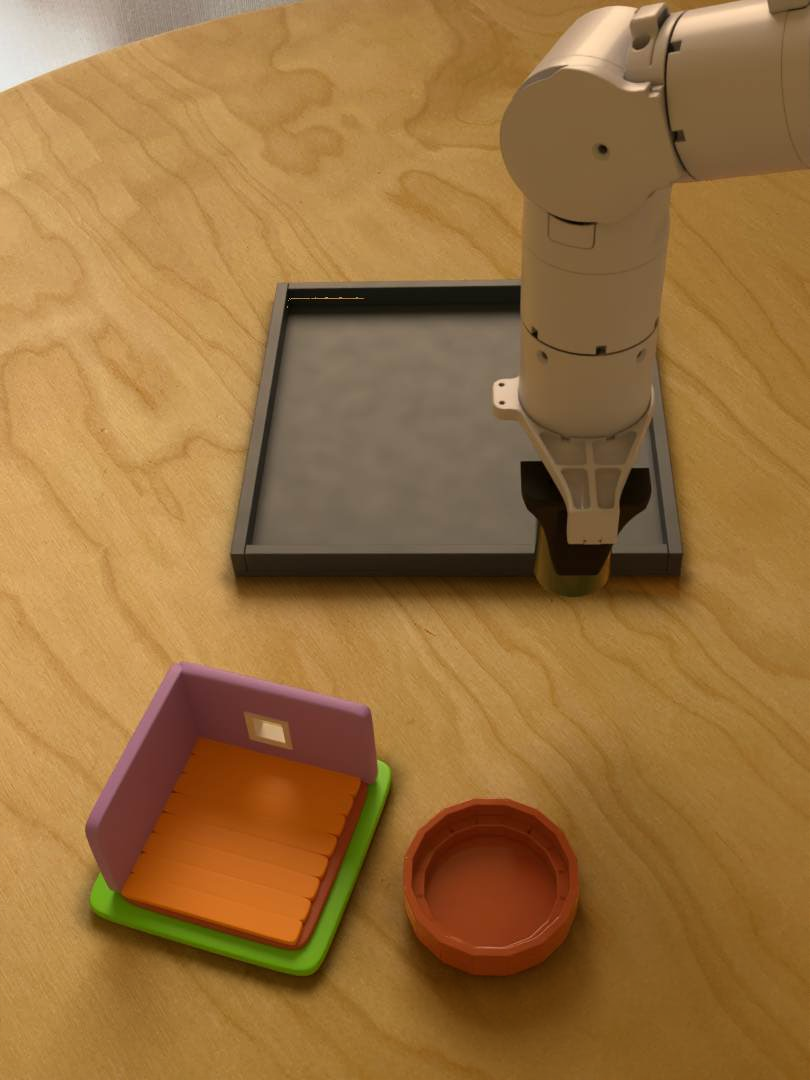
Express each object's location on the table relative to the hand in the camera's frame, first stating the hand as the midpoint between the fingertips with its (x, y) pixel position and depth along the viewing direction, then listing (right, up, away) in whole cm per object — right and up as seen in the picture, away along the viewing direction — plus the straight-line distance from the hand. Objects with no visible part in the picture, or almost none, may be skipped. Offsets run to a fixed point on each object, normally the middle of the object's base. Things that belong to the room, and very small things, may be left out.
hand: (574, 535), depth 65 cm
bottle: (0, -2, +2) cm, 2 cm away
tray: (-5, +7, +20) cm, 22 cm away
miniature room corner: (-16, -15, +1) cm, 22 cm away
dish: (-4, -17, -2) cm, 18 cm away
